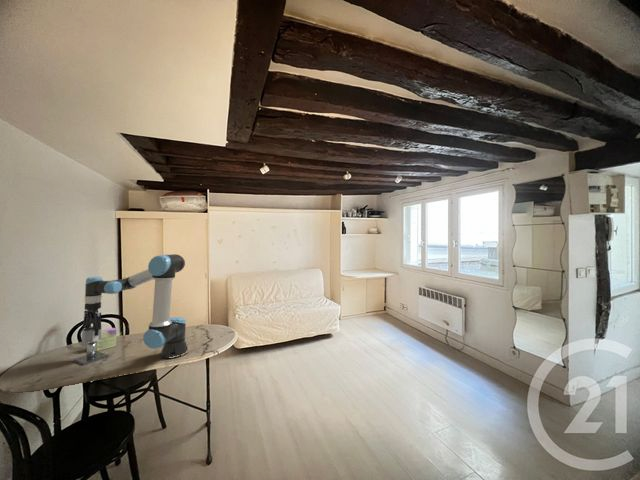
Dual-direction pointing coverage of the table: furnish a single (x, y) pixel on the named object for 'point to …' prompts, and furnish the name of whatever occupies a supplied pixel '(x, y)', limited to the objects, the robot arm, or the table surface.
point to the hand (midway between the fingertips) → (91, 339)
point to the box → (106, 339)
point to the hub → (89, 334)
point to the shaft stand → (90, 355)
